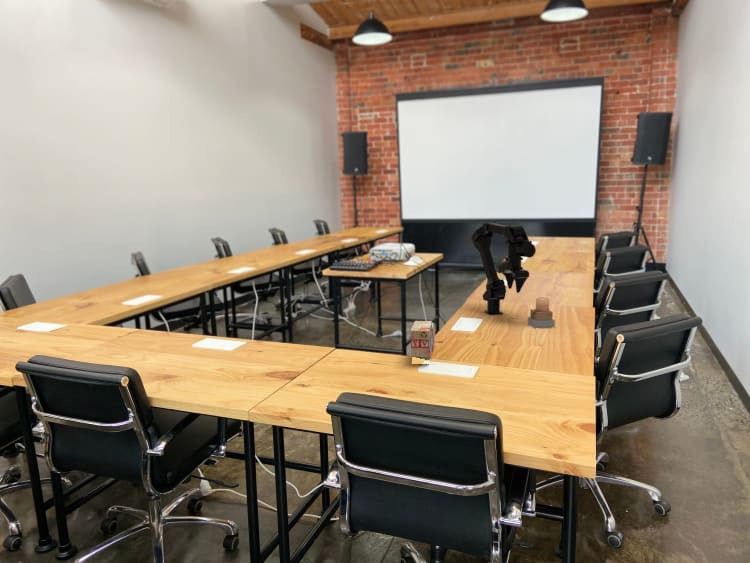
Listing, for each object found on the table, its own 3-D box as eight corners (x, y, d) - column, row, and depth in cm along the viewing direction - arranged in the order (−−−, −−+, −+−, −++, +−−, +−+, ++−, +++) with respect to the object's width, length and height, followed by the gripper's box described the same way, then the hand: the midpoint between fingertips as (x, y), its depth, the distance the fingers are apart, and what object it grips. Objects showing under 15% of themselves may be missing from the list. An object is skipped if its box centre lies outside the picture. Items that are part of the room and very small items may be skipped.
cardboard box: (418, 346, 204) (417, 314, 202) (434, 346, 203) (434, 314, 201) (410, 365, 184) (410, 329, 181) (429, 365, 182) (429, 330, 180)
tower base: (527, 324, 230) (528, 316, 230) (545, 323, 232) (546, 315, 231) (536, 329, 223) (536, 321, 222) (554, 328, 224) (554, 320, 223)
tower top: (530, 317, 229) (530, 309, 228) (544, 316, 230) (545, 308, 229) (537, 321, 222) (537, 312, 222) (552, 320, 224) (552, 311, 223)
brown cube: (533, 309, 227) (533, 297, 227) (545, 308, 228) (545, 297, 227) (539, 312, 222) (539, 300, 222) (551, 311, 223) (551, 299, 222)
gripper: (489, 253, 241) (488, 287, 243) (504, 258, 222) (503, 296, 225) (513, 252, 242) (512, 286, 245) (530, 257, 224) (529, 294, 227)
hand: (513, 290), depth 235 cm, fingers open, 9 cm apart
